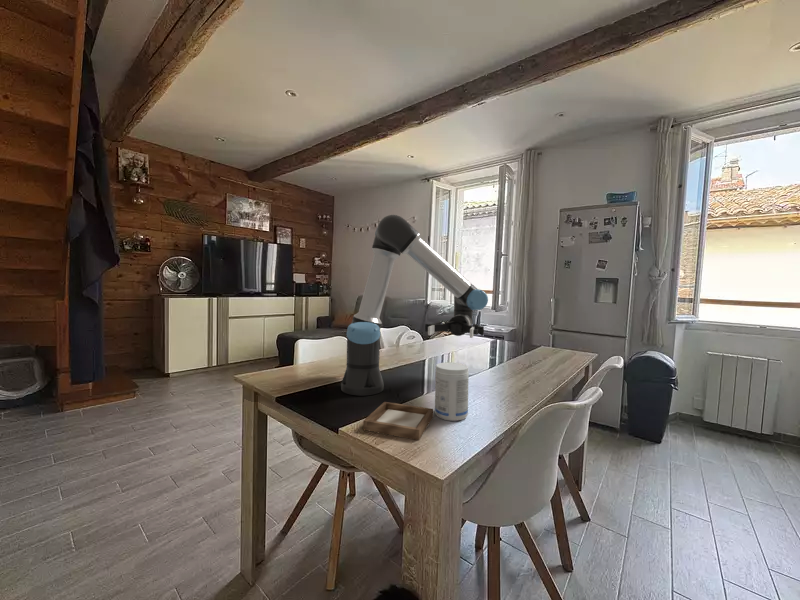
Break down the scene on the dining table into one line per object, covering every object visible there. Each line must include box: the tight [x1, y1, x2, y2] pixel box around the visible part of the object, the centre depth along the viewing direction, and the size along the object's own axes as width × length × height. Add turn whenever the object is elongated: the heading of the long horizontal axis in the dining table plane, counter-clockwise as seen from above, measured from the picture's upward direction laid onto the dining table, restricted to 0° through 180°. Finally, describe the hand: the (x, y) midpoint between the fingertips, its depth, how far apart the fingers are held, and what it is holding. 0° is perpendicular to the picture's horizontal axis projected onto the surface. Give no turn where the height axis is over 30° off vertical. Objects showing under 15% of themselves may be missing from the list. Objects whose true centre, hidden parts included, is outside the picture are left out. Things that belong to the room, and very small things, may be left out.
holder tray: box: [362, 401, 434, 441], centre depth 90 cm, size 15×15×2 cm
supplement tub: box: [434, 361, 470, 422], centre depth 96 cm, size 10×10×15 cm
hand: (449, 332), depth 107 cm, fingers open, 13 cm apart
